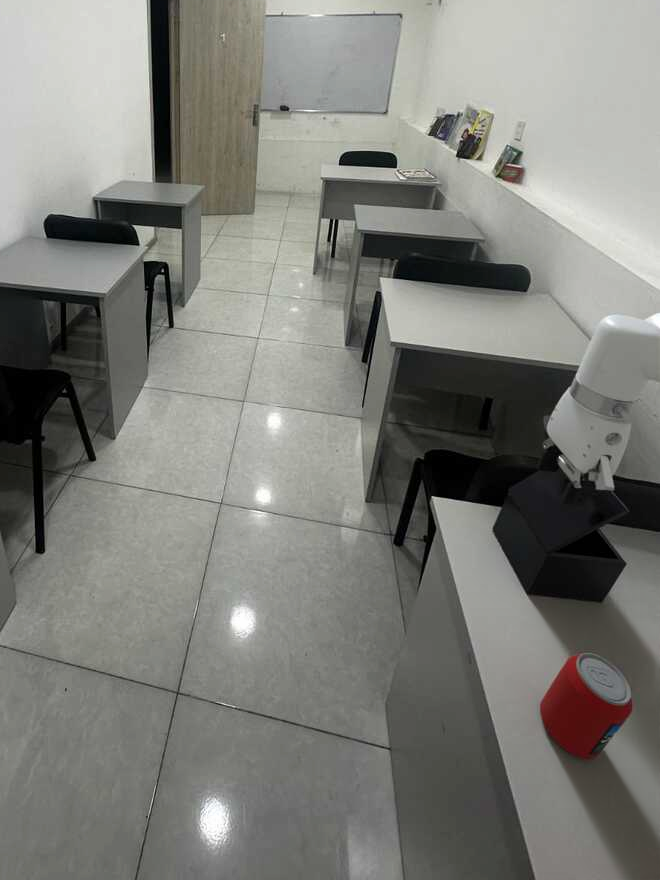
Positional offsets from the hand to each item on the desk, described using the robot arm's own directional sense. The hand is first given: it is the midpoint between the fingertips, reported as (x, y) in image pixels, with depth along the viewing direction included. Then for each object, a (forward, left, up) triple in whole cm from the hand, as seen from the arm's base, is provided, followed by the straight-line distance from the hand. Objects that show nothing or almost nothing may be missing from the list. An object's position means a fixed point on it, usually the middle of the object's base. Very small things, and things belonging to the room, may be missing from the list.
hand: (558, 485), depth 78 cm
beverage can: (+7, +24, -19) cm, 32 cm away
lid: (-2, 0, -3) cm, 4 cm away
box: (-4, 0, -18) cm, 19 cm away
